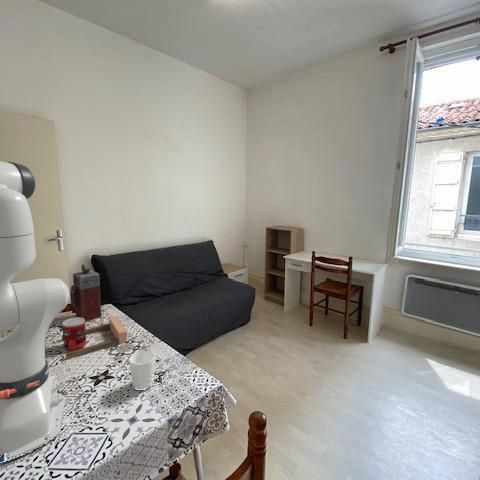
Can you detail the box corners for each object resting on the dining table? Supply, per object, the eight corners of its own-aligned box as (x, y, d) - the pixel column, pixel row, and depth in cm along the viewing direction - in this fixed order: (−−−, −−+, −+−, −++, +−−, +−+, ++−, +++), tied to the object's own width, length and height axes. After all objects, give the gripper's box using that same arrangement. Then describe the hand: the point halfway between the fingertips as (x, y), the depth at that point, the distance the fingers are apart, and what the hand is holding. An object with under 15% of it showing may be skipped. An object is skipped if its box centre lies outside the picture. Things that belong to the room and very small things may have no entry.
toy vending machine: (70, 318, 135) (66, 264, 131) (94, 311, 144) (90, 260, 139) (78, 324, 130) (73, 268, 125) (101, 316, 138) (98, 264, 134)
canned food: (65, 343, 114) (63, 318, 112) (87, 339, 117) (85, 315, 115) (62, 353, 107) (60, 327, 105) (85, 348, 110) (83, 323, 108)
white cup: (129, 394, 86) (128, 366, 84) (132, 378, 94) (131, 352, 92) (155, 390, 88) (154, 362, 86) (155, 374, 96) (155, 349, 94)
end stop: (126, 342, 116) (126, 331, 115) (119, 344, 114) (118, 333, 113) (116, 325, 130) (115, 315, 129) (109, 327, 128) (108, 317, 127)
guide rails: (119, 344, 114) (119, 339, 114) (66, 359, 103) (66, 354, 102) (109, 327, 128) (109, 323, 127) (61, 339, 116) (61, 335, 116)
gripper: (-36, 310, 82) (10, 331, 89) (-26, 290, 98) (12, 309, 105) (-55, 328, 80) (-6, 348, 87) (-42, 305, 96) (-2, 323, 103)
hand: (4, 326), depth 97 cm, fingers closed
